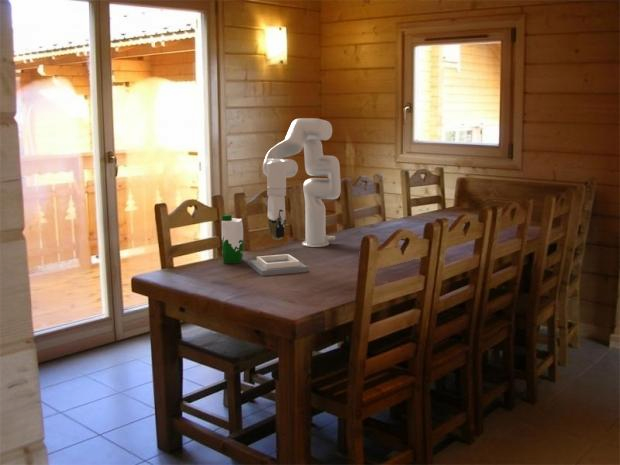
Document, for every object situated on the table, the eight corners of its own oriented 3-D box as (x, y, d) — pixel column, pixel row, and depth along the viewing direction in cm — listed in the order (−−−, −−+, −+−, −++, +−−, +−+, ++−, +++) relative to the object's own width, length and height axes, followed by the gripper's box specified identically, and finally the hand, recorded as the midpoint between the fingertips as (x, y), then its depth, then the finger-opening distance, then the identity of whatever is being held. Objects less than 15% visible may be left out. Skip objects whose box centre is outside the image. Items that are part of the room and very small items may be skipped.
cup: (264, 240, 291) (264, 220, 290) (274, 236, 298) (273, 217, 296) (280, 241, 288) (280, 222, 286) (289, 238, 294) (289, 219, 293)
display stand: (292, 261, 307) (292, 252, 306) (307, 271, 289) (307, 261, 289) (249, 265, 301) (248, 255, 300) (261, 275, 283) (261, 265, 282)
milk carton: (223, 259, 312) (222, 213, 309) (244, 259, 312) (243, 213, 308) (221, 263, 304) (219, 216, 300) (242, 263, 304) (241, 216, 300)
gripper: (261, 189, 296) (262, 232, 299) (274, 194, 280) (274, 239, 283) (279, 188, 298) (279, 231, 302) (292, 194, 282) (292, 238, 286)
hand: (277, 235), depth 292 cm, fingers closed on cup, 6 cm apart
